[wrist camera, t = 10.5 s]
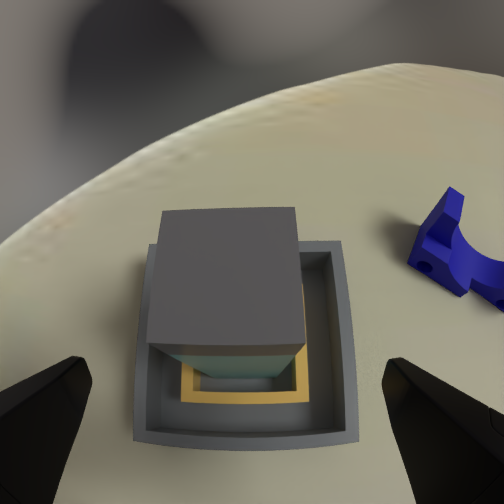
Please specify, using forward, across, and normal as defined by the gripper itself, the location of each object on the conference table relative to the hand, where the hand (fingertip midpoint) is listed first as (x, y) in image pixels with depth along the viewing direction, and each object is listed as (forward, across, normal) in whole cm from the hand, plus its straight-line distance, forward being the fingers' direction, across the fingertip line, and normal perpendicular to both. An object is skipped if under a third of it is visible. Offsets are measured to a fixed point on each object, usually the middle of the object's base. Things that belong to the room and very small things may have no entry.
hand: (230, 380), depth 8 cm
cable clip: (+14, -20, +4) cm, 25 cm away
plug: (+10, 0, +6) cm, 12 cm away
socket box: (+11, 0, +7) cm, 13 cm away
